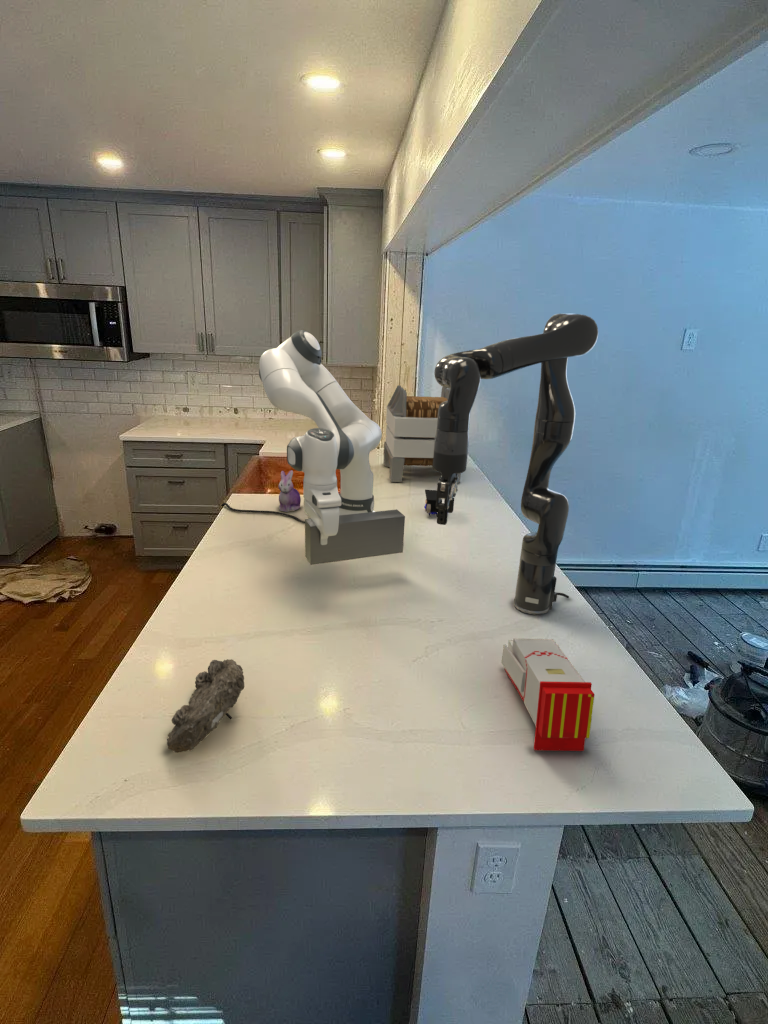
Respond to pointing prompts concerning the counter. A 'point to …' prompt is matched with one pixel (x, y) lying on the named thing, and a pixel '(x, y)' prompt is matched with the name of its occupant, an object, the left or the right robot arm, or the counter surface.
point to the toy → (550, 693)
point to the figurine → (288, 493)
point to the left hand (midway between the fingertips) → (319, 538)
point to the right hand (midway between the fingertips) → (445, 517)
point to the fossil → (206, 705)
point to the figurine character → (431, 502)
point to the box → (357, 537)
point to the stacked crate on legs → (411, 431)
